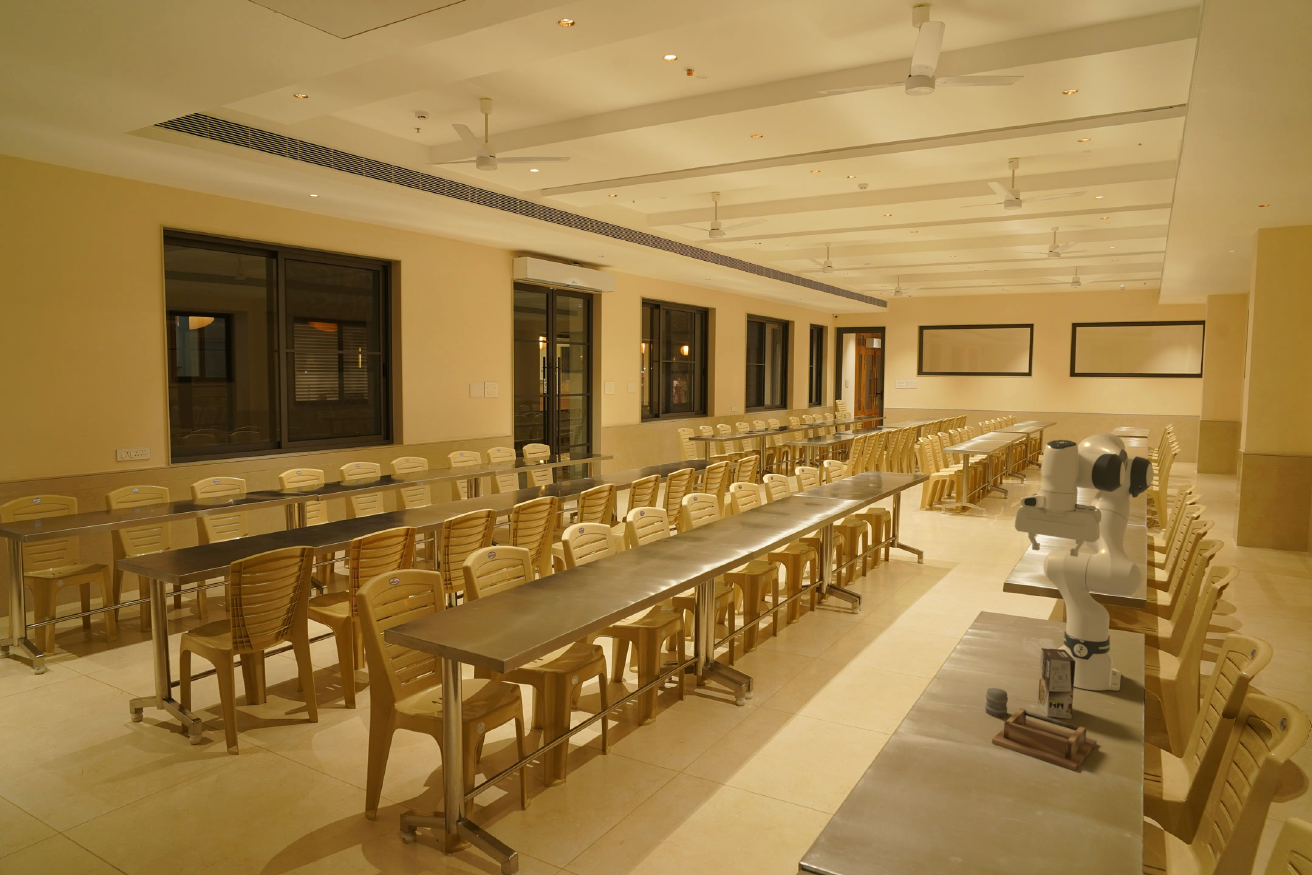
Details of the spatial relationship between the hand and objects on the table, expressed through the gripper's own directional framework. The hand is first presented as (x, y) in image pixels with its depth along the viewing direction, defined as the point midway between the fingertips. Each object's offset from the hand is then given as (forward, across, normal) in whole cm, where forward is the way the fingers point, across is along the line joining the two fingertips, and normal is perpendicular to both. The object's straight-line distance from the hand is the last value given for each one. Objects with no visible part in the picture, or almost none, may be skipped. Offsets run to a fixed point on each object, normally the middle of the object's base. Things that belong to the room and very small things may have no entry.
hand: (1054, 552), depth 205 cm
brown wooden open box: (+45, -5, +18) cm, 48 cm away
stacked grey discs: (+45, +10, +9) cm, 47 cm away
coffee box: (+45, -1, -4) cm, 45 cm away
